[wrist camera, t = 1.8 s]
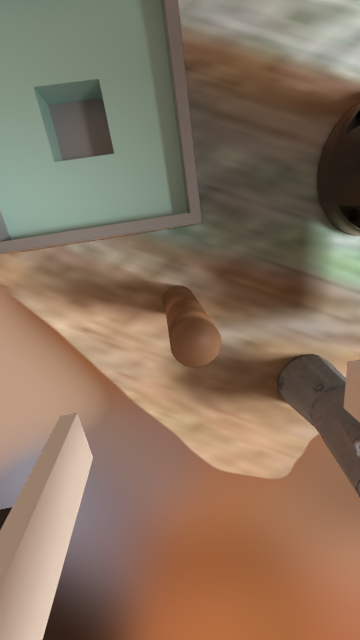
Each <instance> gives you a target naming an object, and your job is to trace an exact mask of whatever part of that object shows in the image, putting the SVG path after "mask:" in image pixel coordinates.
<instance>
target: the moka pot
mask: <svg viewBox="0 0 360 640" xmlns="http://www.w3.org/2000/svg"><path fill="white" fill-rule="evenodd" d="M345 386H346V378H345V377H344V376H343V375H342V374H341V373H340V372H339V371H338V370H337V369H336V368H335V367H334V366H333V365H332V364H331V363H329V362H328V361H327V360H325V359H323V358H321V357H320V356H317V355H305V356H300V357H298V358H296V359H294V360H293V361H291V362H290V363H289V364H288V365H287V366H286V367H285V368H284V369H283V370H282V372H281V374H280V377H279V380H278V388H279V391H280V394H281V397H282V398H283V399H284V400H285V401H286V402H287V403H288V404H289V405H290V406H291V407H293V408H294V409H295V410H296V411H297V412H298V413H299V414H300V415H302V416H303V417H304V418H305V419H306V420H307V421H308V422H309V423H311V424H312V425H313V426H314V427H315V428H316V429H317V431H318V432H319V433H320V435H321V437H322V438H323V440H324V442H325V444H326V445H327V447H328V448H329V450H330V451H331V453H332V455H333V456H334V458H335V459H336V461H337V462H338V464H339V465H340V467H341V469H342V470H343V472H344V473H345V475H346V476H347V478H348V479H349V481H350V483H351V484H352V486H353V487H354V489H355V491H356V492H357V494H358V495H359V497H360V422H359V421H358V420H356V419H355V418H354V417H353V416H352V415H351V414H350V413H349V412H347V411H346V410H345V409H344V408H343V407H344V396H345Z"/></svg>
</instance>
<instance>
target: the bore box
mask: <svg viewBox="0 0 360 640" xmlns="http://www.w3.org/2000/svg"><path fill="white" fill-rule="evenodd" d="M201 222H202V219H201V209H200V200H199V191H198V182H197V173H196V164H195V155H194V145H193V136H192V127H191V118H190V109H189V100H188V90H187V81H186V72H185V63H184V54H183V45H182V35H181V26H180V17H179V8H178V0H0V254H4V253H14V252H24V251H31V250H37V249H44V248H50V247H57V246H63V245H70V244H76V243H82V242H89V241H95V240H102V239H108V238H115V237H121V236H128V235H134V234H140V233H147V232H153V231H160V230H166V229H173V228H179V227H186V226H192V225H195V224H198V223H201Z"/></svg>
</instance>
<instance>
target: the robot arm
mask: <svg viewBox="0 0 360 640" xmlns="http://www.w3.org/2000/svg"><path fill="white" fill-rule="evenodd" d="M318 194H319V199H320V203H321V205H322V208H323V210H324V212H325V214H326V216H327V217H328V219H329V220H330V221H331V222H332V223H333V224H334V225H335V226H336V227H337V228H338V229H340V230H342V231H343V232H346V233H348V234H351V235H356V236H360V102H359V103H358V104H356V105H355V106H354V107H352V108H351V109H350V110H349V111H348V112H347V113H346V114H345V115H344V116H343V117H342V118H341V120H340V121H339V122H338V123H337V125H336V126H335V128H334V129H333V131H332V133H331V134H330V136H329V138H328V140H327V142H326V144H325V147H324V149H323V152H322V155H321V159H320V163H319V169H318ZM343 408H344V409H345V410H346V411H347V412H349V413H350V414H351V415H352V416H353V417H354V418H355V419H356V420H358V421H359V422H360V360H355V361H350V362H348V364H347V375H346V386H345V396H344V407H343ZM92 459H93V456H92V454H91V451H90V448H89V445H88V442H87V440H86V437H85V434H84V431H83V429H82V425H81V423H80V420H79V417H78V414H77V413H75V414H70V415H64V416H60V418H59V420H58V422H57V424H56V425H55V427H54V429H53V431H52V433H51V435H50V437H49V439H48V441H47V443H46V444H45V446H44V448H43V450H42V452H41V454H40V456H39V458H38V460H37V462H36V464H35V465H34V467H33V469H32V471H31V473H30V475H29V477H28V479H27V481H26V482H25V484H24V486H23V488H22V490H21V492H20V494H19V496H18V498H17V500H16V501H15V503H14V506H13V507H11V508H6V509H1V510H0V640H42V639H43V635H44V632H45V628H46V625H47V621H48V617H49V614H50V610H51V606H52V603H53V599H54V596H55V592H56V589H57V585H58V581H59V578H60V574H61V571H62V567H63V563H64V560H65V556H66V553H67V549H68V545H69V541H70V538H71V535H72V531H73V527H74V524H75V520H76V516H77V513H78V510H79V506H80V502H81V499H82V495H83V491H84V488H85V484H86V480H87V477H88V474H89V470H90V466H91V463H92Z"/></svg>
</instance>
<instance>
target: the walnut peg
mask: <svg viewBox="0 0 360 640" xmlns="http://www.w3.org/2000/svg"><path fill="white" fill-rule="evenodd" d="M164 304H165V311H166V318H167V325H168V331H169V338H170V345H171V351H172V354H173V356H174V357H175V359H176V360H177V361H178V362H180V363H181V364H183V365H185V366H189V367H200V366H204V365H206V364H208V363H210V362H211V361H212V360H214V359H215V358H216V356H217V355H218V353H219V351H220V348H221V336H220V333H219V331H218V330H217V328H216V327H215V326H214V324H213V323H212V321H211V320H210V318H209V317H208V315H207V314H206V312H205V311H204V309H203V308H202V307H201V305H200V304H199V302H198V301H197V299H196V298H195V296H194V295H193V293H192V292H191V291H190V290H189V289H188V288H186V287H184V286H175V287H173V288H171V289H170V290H169V291H168V292H167V293H166V295H165V298H164Z"/></svg>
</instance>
